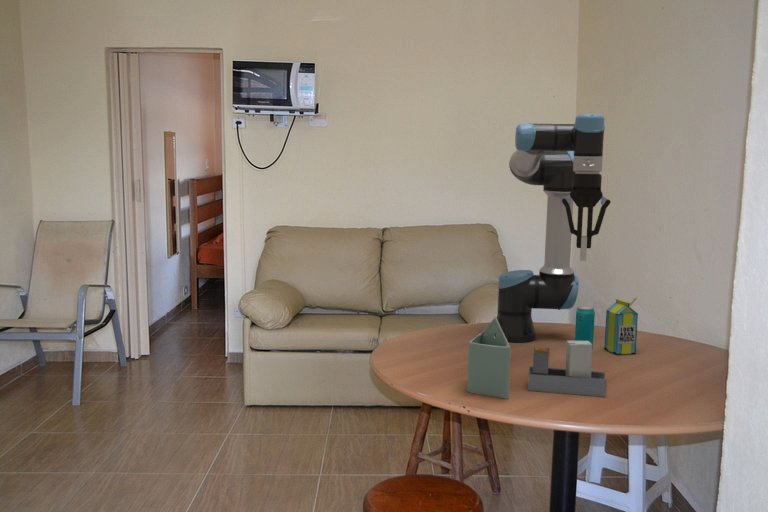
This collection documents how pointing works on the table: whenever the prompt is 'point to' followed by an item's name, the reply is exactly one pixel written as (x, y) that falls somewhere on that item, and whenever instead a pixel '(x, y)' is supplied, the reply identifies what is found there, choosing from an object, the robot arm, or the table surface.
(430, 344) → the table surface
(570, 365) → the skincare box
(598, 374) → the rail
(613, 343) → the carton
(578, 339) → the beverage can
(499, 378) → the planter
